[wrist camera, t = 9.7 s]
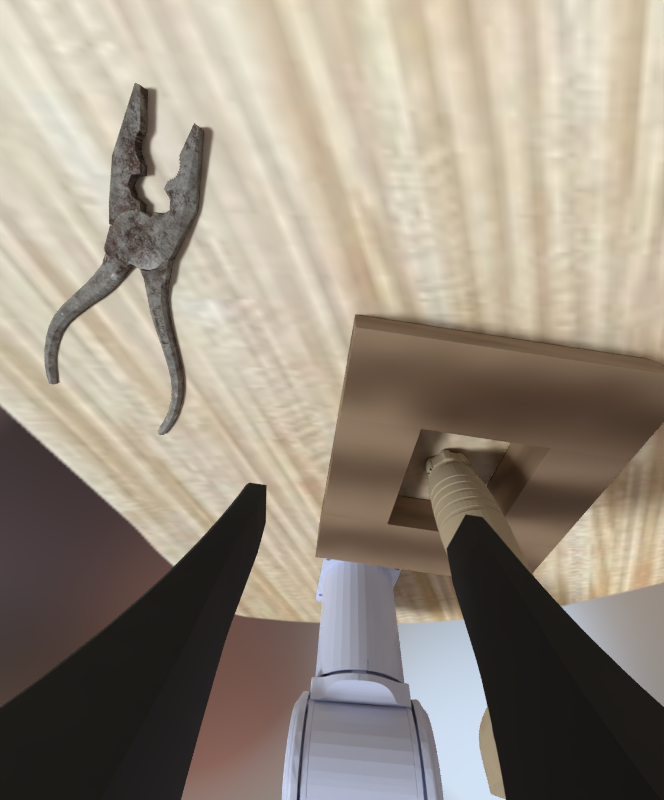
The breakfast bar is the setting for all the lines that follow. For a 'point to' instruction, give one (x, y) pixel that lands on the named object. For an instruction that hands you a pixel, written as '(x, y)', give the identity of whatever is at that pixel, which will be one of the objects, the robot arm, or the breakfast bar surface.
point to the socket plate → (477, 435)
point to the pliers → (140, 240)
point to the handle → (451, 500)
